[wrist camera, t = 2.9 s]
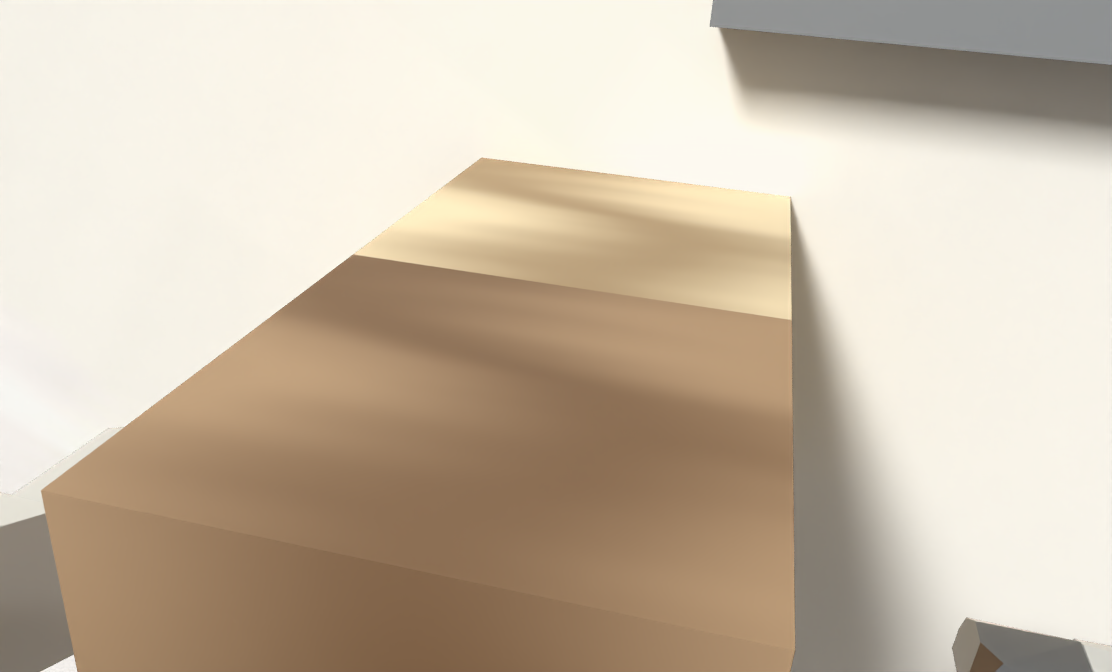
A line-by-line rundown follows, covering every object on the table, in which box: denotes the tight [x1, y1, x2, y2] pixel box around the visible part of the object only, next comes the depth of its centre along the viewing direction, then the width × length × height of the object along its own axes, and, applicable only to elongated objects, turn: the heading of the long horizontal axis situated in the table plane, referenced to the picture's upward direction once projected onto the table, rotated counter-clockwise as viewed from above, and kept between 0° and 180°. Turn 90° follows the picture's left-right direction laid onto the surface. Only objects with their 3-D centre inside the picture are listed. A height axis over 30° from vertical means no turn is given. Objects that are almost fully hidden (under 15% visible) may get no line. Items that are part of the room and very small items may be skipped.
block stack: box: [41, 158, 795, 672], centre depth 11 cm, size 5×5×10 cm
